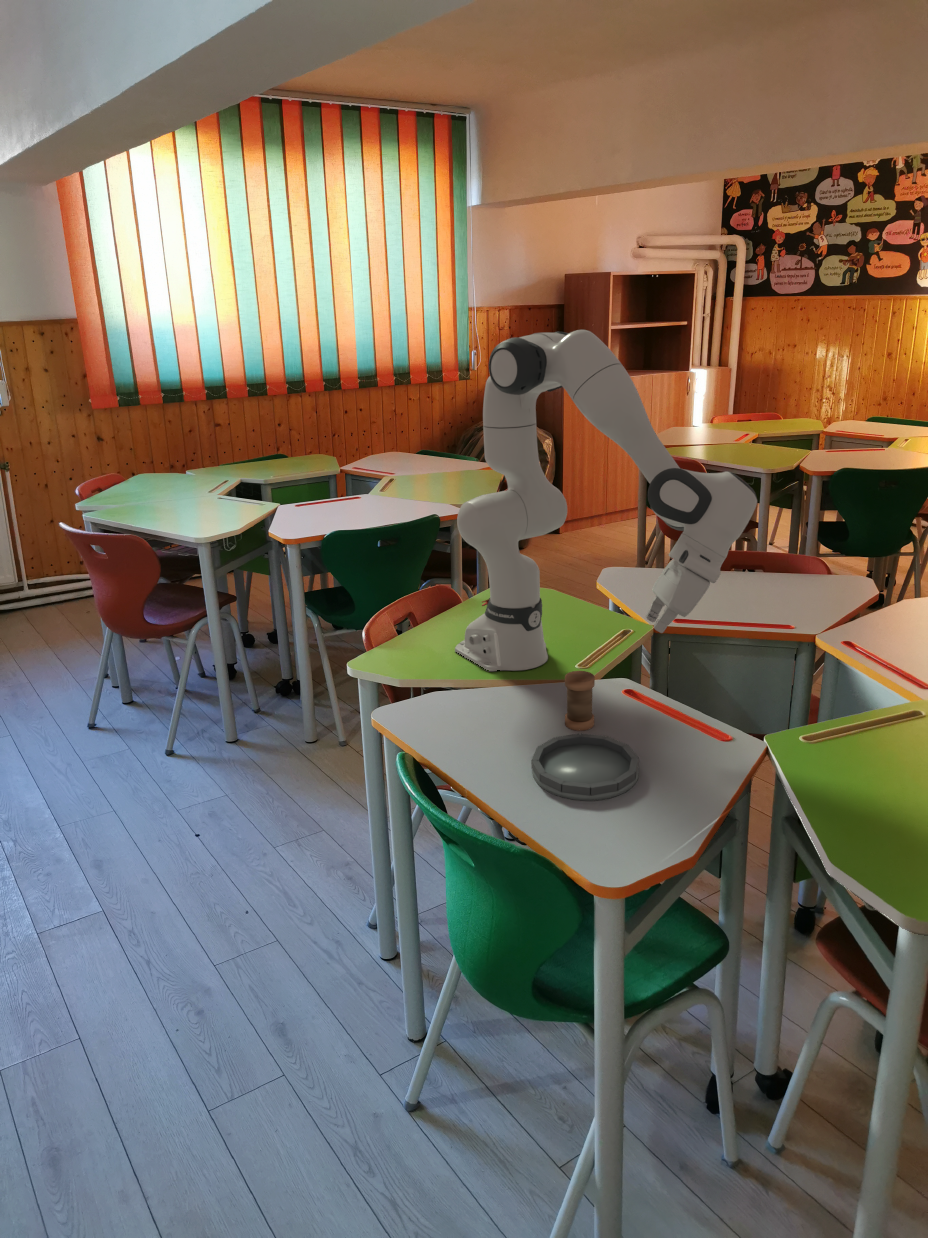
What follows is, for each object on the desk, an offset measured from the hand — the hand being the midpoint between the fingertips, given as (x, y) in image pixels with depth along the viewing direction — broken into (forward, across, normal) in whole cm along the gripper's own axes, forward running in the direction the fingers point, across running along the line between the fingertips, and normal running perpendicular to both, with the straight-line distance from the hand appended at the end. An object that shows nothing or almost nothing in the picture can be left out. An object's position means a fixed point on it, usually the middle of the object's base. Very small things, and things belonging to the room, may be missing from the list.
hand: (653, 625), depth 161 cm
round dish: (+27, +12, +1) cm, 30 cm away
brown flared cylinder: (+24, -6, 0) cm, 25 cm away
